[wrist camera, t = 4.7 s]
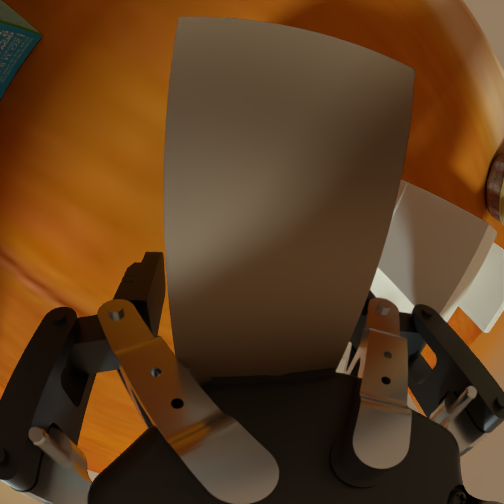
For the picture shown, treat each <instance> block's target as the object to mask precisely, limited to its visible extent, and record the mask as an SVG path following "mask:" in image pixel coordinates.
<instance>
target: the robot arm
mask: <svg viewBox="0 0 504 504" xmlns="http://www.w3.org/2000/svg"><path fill="white" fill-rule="evenodd" d="M164 298H165V273H164V258H163V253H162V252H146V253H145V255H144V258H143V260H142V262H141V263H136V262H135V263H133V264H132V265H131V266H130V267H128V268H127V270H126V272H125V274H124V277H123V278H122V281H121V283H120V285H119V287H118V289H117V292H116V294H115V296H114V298H113V300H110V301H108V302H106V303H104V304H103V305H102V306H101V307H100V308H99V309H98V312H97V315H93V316H87V317H80V318H77V315H76V312H75V311H74V310H73V309H71V308H69V307H59V308H55V309H53V310H51V311H50V312H48V313H47V314H46V316H45V317H44V319H43V320H42V322H41V323H40V325H39V327H38V328H37V330H36V332H35V333H34V335H33V337H32V338H31V340H30V342H29V344H28V345H27V347H26V349H25V351H24V353H23V354H22V356H21V358H20V360H19V362H18V364H17V366H16V368H15V370H14V372H13V374H12V376H11V378H10V380H9V382H8V384H7V386H6V388H5V391H4V393H3V395H2V398H1V400H0V480H1V481H3V482H4V483H6V484H7V485H9V486H10V487H11V488H13V489H14V490H16V491H18V492H19V493H21V494H23V495H25V496H27V497H29V498H31V499H33V500H35V501H38V502H42V503H44V504H502V503H499V502H494V501H483V500H480V499H477V498H475V497H473V496H471V495H469V494H468V493H467V491H466V490H465V488H464V485H463V481H462V476H461V468H460V456H462V455H464V454H465V453H466V452H467V451H469V450H470V449H472V448H473V447H474V446H475V445H477V444H478V443H479V442H480V441H482V440H483V439H484V438H485V437H486V436H487V435H488V434H490V433H491V432H492V431H493V430H494V429H495V428H496V427H497V426H498V425H499V424H501V423H502V422H503V421H504V392H503V390H502V389H501V388H500V386H499V385H498V384H497V382H496V381H495V380H494V378H493V377H492V376H491V375H490V373H489V372H488V371H487V369H486V368H485V367H484V365H483V364H482V363H481V362H480V360H479V359H478V358H477V357H476V356H475V355H474V353H473V352H472V351H471V350H470V349H469V347H468V346H467V345H466V344H465V343H464V341H463V340H462V339H461V338H460V337H459V336H458V335H457V333H456V332H455V331H454V330H453V329H452V328H451V327H450V326H449V325H448V323H447V322H446V321H445V320H444V319H443V318H442V317H441V316H440V315H439V314H438V313H437V312H436V311H435V310H434V309H433V308H431V307H429V306H427V305H424V304H417V305H415V306H414V308H413V310H412V312H411V313H404V312H399V310H398V308H397V306H396V305H395V304H394V303H392V302H391V301H389V300H387V299H384V298H376V297H375V295H374V294H373V293H372V292H371V290H370V291H369V294H368V296H367V299H366V302H365V304H364V307H363V310H362V312H361V315H360V317H359V320H358V322H357V325H356V327H355V329H354V332H353V334H352V336H351V339H350V341H349V342H351V346H350V348H349V351H348V355H347V360H346V364H345V368H344V372H343V373H338V372H336V371H335V369H334V367H333V368H326V369H319V370H311V371H303V372H294V373H288V374H284V375H281V376H267V375H256V376H233V377H212V382H209V383H205V384H202V385H198V383H197V382H196V381H195V380H194V379H193V377H192V376H191V375H190V374H189V372H188V371H187V370H186V369H185V367H184V366H183V365H182V364H181V362H180V361H179V360H178V358H176V356H175V354H174V353H173V352H172V350H171V349H170V348H169V346H168V345H167V344H166V342H165V341H164V340H163V338H162V337H161V336H157V334H158V329H159V323H160V318H161V313H162V308H163V303H164ZM426 343H427V344H428V345H429V347H430V348H431V349H432V350H433V352H434V353H435V354H436V357H437V363H436V365H435V367H434V368H433V370H432V369H431V367H430V366H429V365H428V363H427V362H426V360H425V359H424V358H423V356H422V355H421V354H420V353H421V352H422V350H423V348H424V347H425V345H426ZM110 370H116V371H117V373H118V375H119V377H120V379H121V381H122V383H123V384H124V386H125V388H126V390H127V392H128V394H129V396H130V398H131V399H132V401H133V403H134V405H135V407H136V409H137V411H138V413H139V414H140V416H141V418H142V420H143V422H144V423H145V425H146V426H147V428H148V429H147V430H146V431H145V432H144V433H143V434H142V435H141V436H140V437H139V438H138V439H137V440H135V441H134V442H133V443H132V444H131V445H130V446H129V447H128V448H127V449H126V450H125V451H124V452H123V453H122V454H121V455H120V456H119V457H117V458H116V459H115V460H114V461H113V462H112V463H111V464H110V465H109V466H108V467H107V468H105V469H104V470H103V471H102V472H101V473H100V474H99V475H98V476H97V477H96V478H95V479H94V481H93V482H92V481H91V479H90V478H89V475H88V472H87V460H86V457H85V455H84V453H83V452H82V451H81V450H80V449H79V448H78V447H77V444H78V439H79V435H80V431H81V426H82V422H83V418H84V415H85V411H86V407H87V403H88V400H89V396H90V393H91V390H92V386H93V383H94V380H95V377H96V373H98V372H104V371H110ZM408 387H409V388H410V390H411V392H412V393H413V395H414V396H415V398H416V400H417V401H418V403H419V405H420V406H421V408H422V409H423V411H424V413H425V415H426V416H427V417H425V416H423V415H421V414H420V413H418V412H416V411H414V410H413V409H411V408H409V407H408V405H407V395H408Z"/></svg>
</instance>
